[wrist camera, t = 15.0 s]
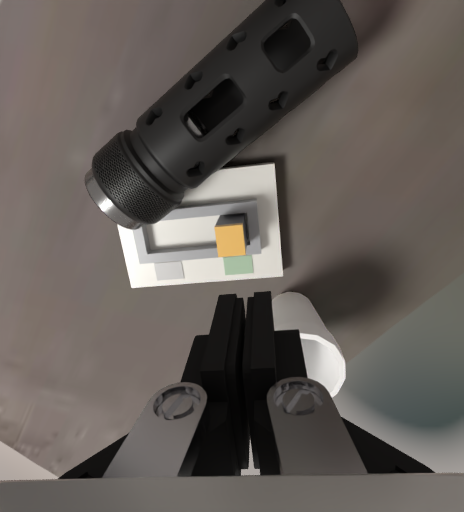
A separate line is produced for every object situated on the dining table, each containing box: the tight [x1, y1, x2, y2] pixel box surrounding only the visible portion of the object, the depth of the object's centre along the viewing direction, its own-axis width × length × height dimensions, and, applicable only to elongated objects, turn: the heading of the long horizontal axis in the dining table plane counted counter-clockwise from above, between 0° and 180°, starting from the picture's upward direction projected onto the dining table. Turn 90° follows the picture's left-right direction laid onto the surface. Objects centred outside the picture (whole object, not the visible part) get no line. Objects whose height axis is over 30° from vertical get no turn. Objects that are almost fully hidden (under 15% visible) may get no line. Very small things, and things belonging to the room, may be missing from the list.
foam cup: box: [272, 292, 345, 398], centre depth 44 cm, size 10×9×13 cm
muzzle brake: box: [85, 0, 358, 230], centre depth 37 cm, size 10×28×10 cm, turn 128°
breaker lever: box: [214, 213, 248, 257], centre depth 42 cm, size 3×3×6 cm
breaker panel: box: [117, 162, 283, 288], centre depth 46 cm, size 20×14×4 cm
